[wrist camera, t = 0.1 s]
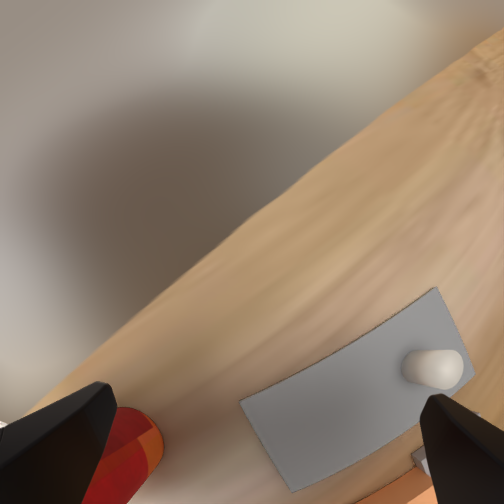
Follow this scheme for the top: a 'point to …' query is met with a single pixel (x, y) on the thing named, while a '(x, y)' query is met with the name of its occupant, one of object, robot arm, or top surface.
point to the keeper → (360, 393)
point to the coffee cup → (125, 458)
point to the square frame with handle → (408, 485)
